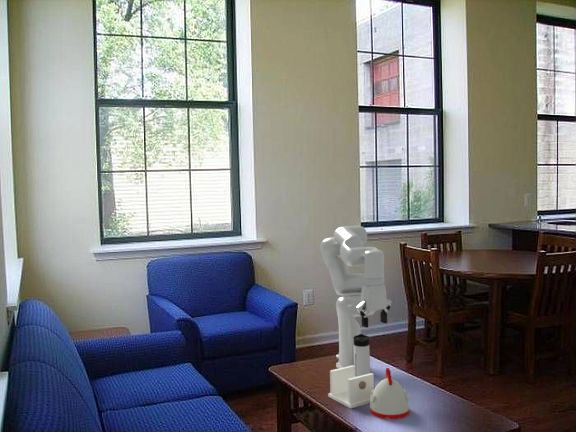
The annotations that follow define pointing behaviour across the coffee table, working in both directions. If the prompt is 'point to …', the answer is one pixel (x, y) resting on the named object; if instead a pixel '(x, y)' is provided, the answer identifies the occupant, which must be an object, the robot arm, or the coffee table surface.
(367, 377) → the holder
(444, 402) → the coffee table surface
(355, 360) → the travel mug
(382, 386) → the kitchen timer
